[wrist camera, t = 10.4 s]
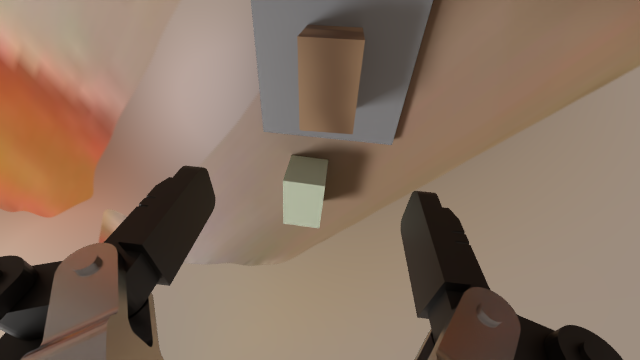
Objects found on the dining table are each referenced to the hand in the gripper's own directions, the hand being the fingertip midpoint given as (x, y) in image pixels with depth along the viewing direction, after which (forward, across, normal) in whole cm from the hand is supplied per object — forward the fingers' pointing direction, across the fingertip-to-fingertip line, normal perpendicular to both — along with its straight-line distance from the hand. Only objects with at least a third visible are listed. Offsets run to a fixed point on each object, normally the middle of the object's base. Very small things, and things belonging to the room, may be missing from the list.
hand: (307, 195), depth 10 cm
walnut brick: (+16, 0, 0) cm, 17 cm away
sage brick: (+18, +2, +14) cm, 23 cm away
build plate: (+18, 0, 0) cm, 18 cm away
